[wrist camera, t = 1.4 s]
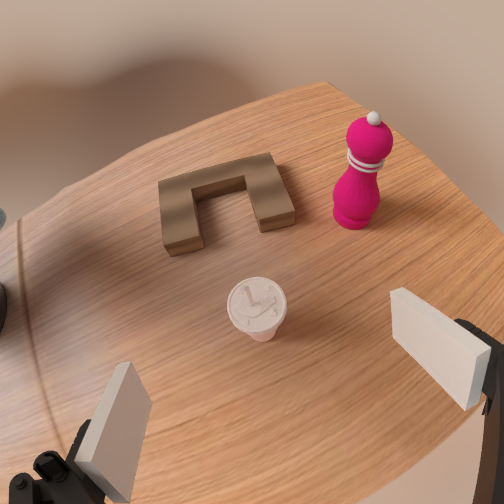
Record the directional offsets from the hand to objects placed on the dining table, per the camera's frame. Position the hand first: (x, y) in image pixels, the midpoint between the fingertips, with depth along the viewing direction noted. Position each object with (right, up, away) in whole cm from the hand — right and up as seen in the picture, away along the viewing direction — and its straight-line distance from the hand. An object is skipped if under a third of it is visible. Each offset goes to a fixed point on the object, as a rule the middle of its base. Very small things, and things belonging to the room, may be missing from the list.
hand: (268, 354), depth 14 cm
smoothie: (+1, -5, +27) cm, 28 cm away
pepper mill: (+15, +11, +35) cm, 39 cm away
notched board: (-5, +12, +38) cm, 40 cm away
